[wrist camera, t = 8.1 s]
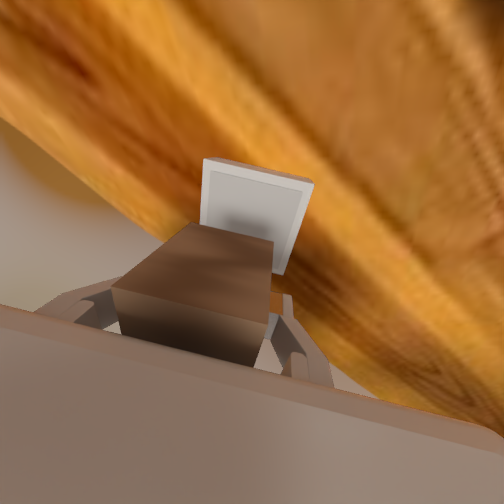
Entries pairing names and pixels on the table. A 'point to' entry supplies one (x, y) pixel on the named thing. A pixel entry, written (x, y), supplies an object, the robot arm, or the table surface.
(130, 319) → the walnut block
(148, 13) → the table surface
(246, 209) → the plinth
